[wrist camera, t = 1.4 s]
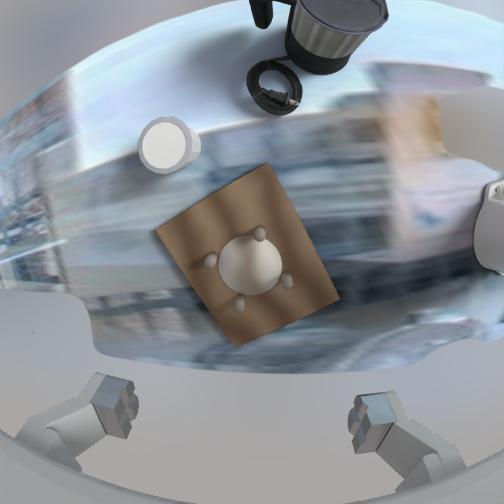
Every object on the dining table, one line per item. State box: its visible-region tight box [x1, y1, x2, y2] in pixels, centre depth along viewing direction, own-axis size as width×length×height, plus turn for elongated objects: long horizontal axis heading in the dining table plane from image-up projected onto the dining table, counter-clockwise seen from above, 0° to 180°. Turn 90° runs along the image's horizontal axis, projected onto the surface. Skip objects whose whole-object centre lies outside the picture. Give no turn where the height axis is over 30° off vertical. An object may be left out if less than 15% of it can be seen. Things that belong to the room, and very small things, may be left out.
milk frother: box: [247, 0, 389, 115], centre depth 25 cm, size 14×16×15 cm
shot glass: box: [138, 117, 201, 174], centre depth 33 cm, size 7×7×7 cm
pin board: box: [156, 163, 340, 347], centre depth 39 cm, size 18×22×5 cm
